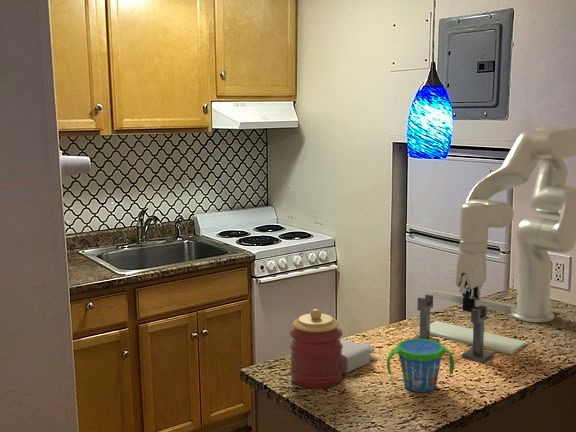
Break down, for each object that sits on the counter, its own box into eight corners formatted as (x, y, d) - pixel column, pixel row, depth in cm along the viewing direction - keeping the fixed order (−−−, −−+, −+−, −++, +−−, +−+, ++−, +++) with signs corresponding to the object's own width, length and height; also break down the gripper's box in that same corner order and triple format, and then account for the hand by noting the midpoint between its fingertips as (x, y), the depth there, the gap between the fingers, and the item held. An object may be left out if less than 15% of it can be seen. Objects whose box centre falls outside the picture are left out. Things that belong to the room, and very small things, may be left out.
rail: (435, 296, 189) (435, 289, 188) (514, 311, 173) (514, 304, 172) (431, 297, 187) (431, 291, 187) (510, 313, 171) (510, 306, 170)
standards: (420, 337, 182) (421, 292, 180) (493, 356, 168) (495, 307, 165) (409, 343, 178) (410, 297, 176) (483, 363, 163) (485, 312, 161)
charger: (385, 358, 168) (347, 374, 158) (358, 349, 175) (321, 364, 165) (385, 341, 167) (347, 356, 157) (358, 333, 174) (320, 347, 164)
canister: (353, 380, 154) (353, 311, 151) (309, 394, 147) (308, 321, 144) (322, 363, 165) (322, 298, 162) (280, 375, 158) (279, 307, 155)
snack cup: (387, 395, 146) (388, 353, 144) (385, 376, 156) (386, 337, 154) (456, 397, 144) (458, 355, 142) (450, 378, 154) (451, 338, 153)
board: (436, 323, 195) (436, 320, 194) (525, 344, 176) (525, 341, 176) (419, 331, 187) (419, 329, 187) (510, 354, 169) (510, 351, 168)
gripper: (474, 241, 186) (471, 301, 188) (447, 249, 174) (444, 313, 177) (498, 244, 181) (495, 306, 183) (472, 253, 169) (469, 319, 172)
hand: (470, 309), depth 180 cm, fingers closed on rail, 2 cm apart
